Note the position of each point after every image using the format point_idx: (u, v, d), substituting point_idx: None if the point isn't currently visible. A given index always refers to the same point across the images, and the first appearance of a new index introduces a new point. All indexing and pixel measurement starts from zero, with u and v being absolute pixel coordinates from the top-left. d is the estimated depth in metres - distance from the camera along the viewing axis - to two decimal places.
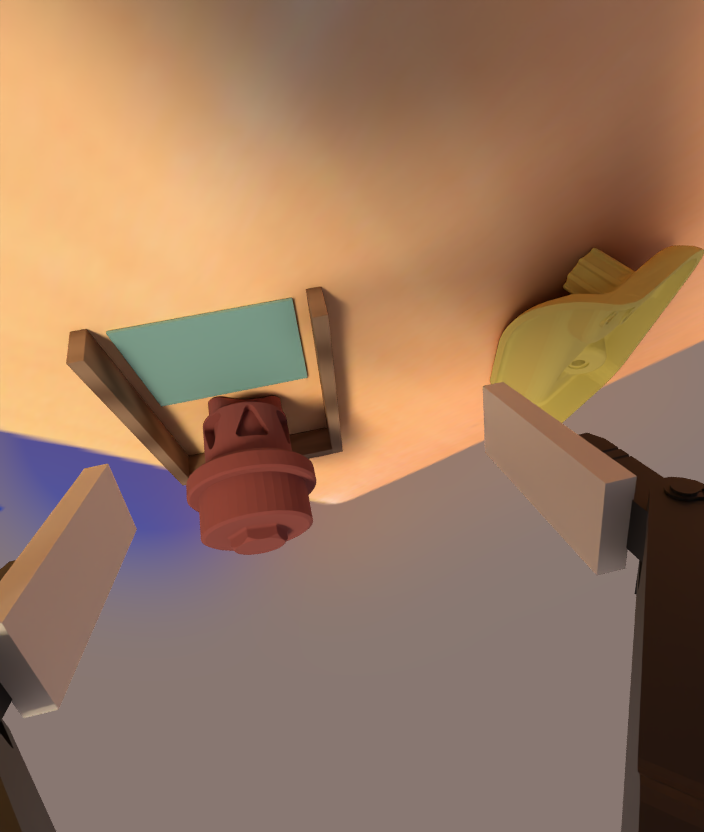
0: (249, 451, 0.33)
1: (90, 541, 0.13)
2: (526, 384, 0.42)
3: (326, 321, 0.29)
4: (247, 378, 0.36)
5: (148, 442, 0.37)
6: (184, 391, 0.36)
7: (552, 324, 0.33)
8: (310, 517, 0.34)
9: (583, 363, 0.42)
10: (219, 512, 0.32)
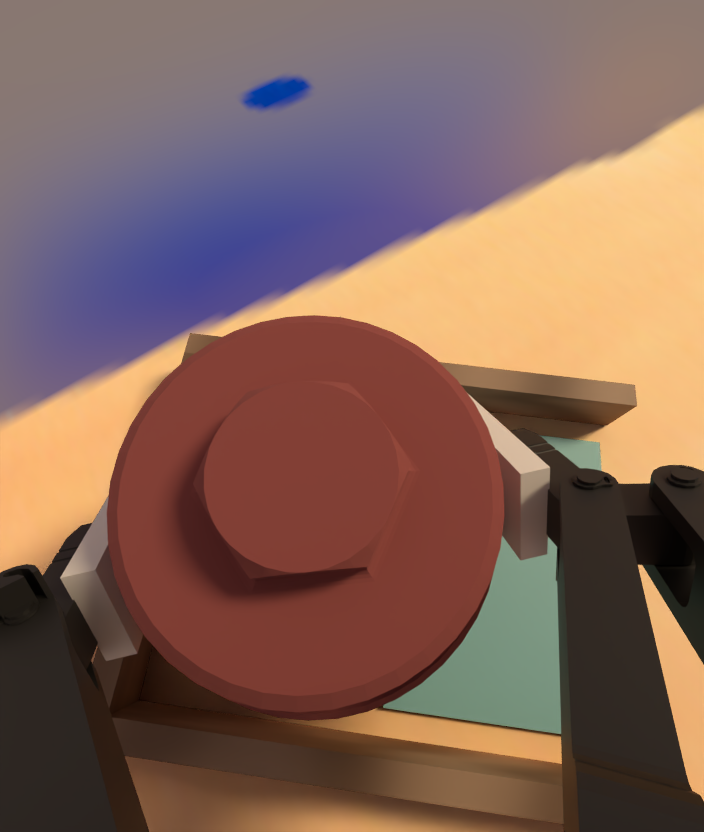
0: None
1: None
2: None
3: None
4: None
5: None
6: None
7: None
8: (303, 708, 0.08)
9: None
10: None
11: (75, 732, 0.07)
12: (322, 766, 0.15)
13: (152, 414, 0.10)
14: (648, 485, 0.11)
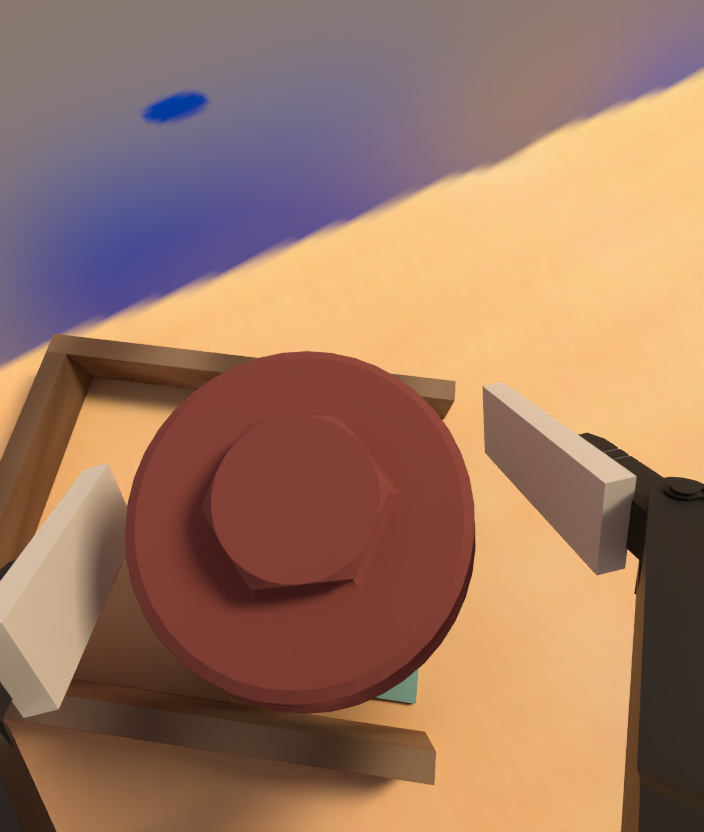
0: None
1: (90, 541, 0.13)
2: None
3: (418, 777, 0.16)
4: None
5: (232, 363, 0.22)
6: None
7: None
8: (298, 701, 0.10)
9: None
10: None
11: None
12: (124, 719, 0.17)
13: (163, 443, 0.11)
14: None
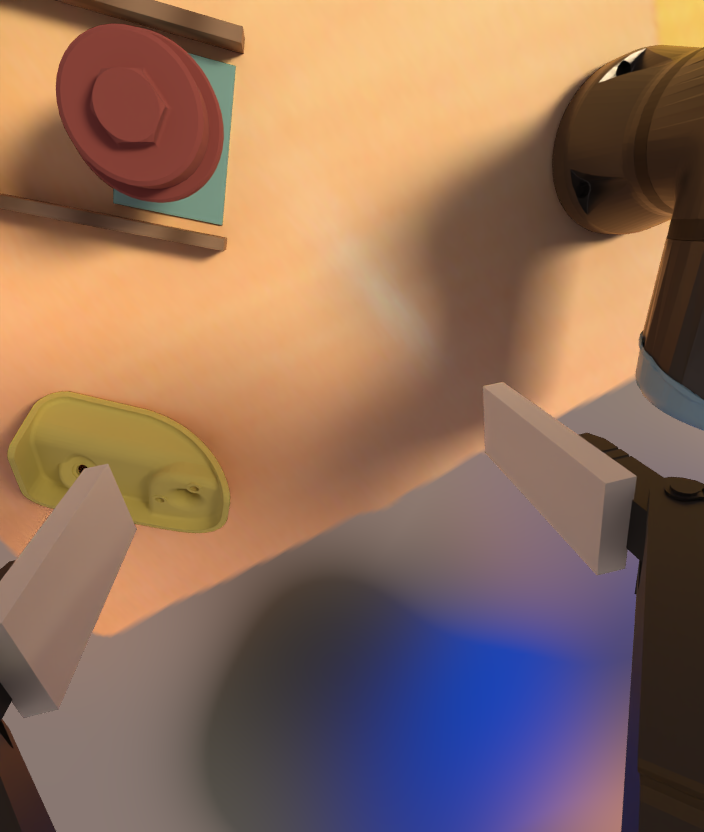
0: (221, 153, 0.33)
1: (90, 541, 0.13)
2: (77, 427, 0.44)
3: (216, 247, 0.40)
4: None
5: None
6: None
7: (181, 451, 0.45)
8: (141, 185, 0.29)
9: (78, 474, 0.46)
10: (199, 92, 0.29)
11: None
12: (77, 216, 0.37)
13: (64, 72, 0.26)
14: None
